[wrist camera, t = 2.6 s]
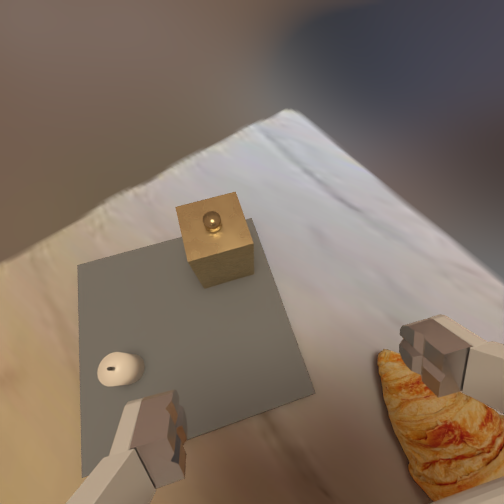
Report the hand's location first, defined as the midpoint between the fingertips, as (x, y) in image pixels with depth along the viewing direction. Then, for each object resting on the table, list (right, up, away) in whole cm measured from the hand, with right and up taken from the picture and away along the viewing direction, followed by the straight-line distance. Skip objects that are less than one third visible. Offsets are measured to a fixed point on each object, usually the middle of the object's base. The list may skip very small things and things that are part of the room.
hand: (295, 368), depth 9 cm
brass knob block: (-5, +3, +22) cm, 23 cm away
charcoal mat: (-9, -4, +20) cm, 22 cm away
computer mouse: (-14, -8, +17) cm, 23 cm away
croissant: (+17, -14, +15) cm, 27 cm away
